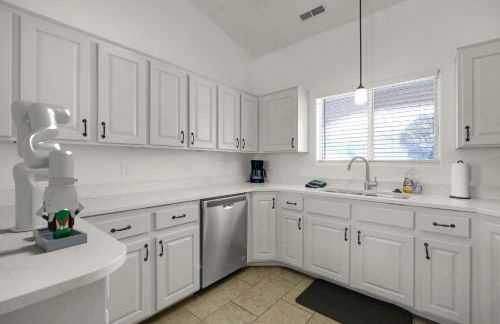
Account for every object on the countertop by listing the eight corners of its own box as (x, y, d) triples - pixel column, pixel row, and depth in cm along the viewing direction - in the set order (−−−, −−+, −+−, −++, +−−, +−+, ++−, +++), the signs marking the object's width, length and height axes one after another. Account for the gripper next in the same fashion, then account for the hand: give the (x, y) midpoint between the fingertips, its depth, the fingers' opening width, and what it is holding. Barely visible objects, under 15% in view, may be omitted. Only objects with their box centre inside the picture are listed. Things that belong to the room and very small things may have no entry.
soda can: (67, 235, 91) (67, 205, 92) (71, 237, 88) (71, 206, 88) (51, 238, 87) (51, 207, 88) (54, 241, 84) (54, 208, 84)
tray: (35, 244, 87) (35, 235, 87) (73, 236, 97) (73, 227, 97) (47, 252, 79) (47, 242, 79) (87, 242, 89) (87, 233, 89)
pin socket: (32, 237, 96) (32, 229, 96) (56, 232, 102) (56, 225, 102) (38, 240, 91) (38, 233, 91) (62, 235, 98) (62, 228, 98)
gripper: (83, 180, 97) (83, 223, 97) (28, 183, 83) (28, 233, 83) (90, 181, 93) (90, 226, 93) (34, 184, 79) (34, 237, 79)
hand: (61, 229), depth 88 cm, fingers closed on soda can, 5 cm apart
